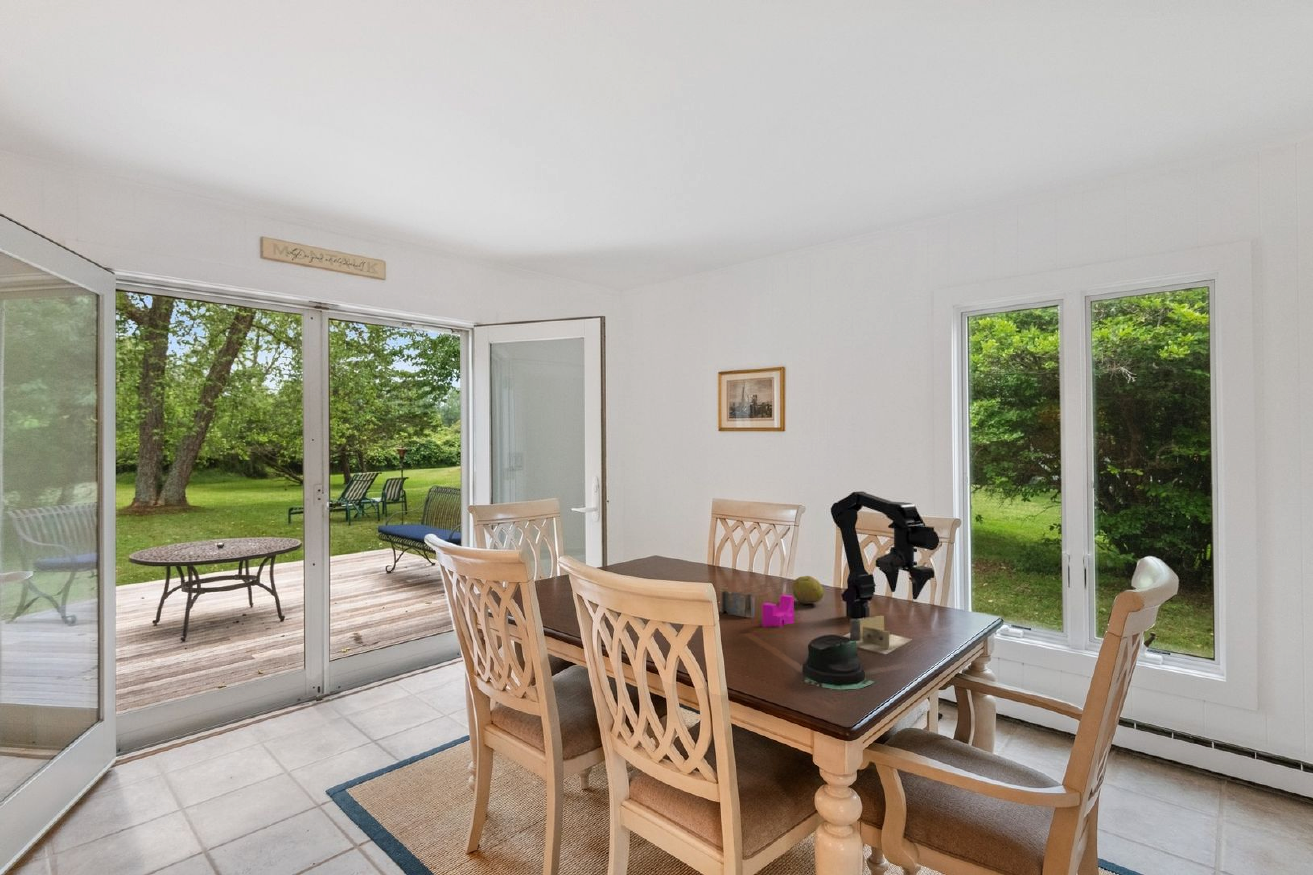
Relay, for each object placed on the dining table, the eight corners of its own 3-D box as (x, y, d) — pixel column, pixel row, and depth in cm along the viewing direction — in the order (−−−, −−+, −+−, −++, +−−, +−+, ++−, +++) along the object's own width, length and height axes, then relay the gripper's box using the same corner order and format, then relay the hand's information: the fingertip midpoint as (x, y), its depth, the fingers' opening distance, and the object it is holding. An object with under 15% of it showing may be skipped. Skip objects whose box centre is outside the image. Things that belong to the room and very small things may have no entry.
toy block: (780, 631, 192) (780, 607, 192) (762, 627, 196) (762, 604, 196) (800, 619, 204) (800, 597, 204) (783, 616, 207) (783, 594, 207)
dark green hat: (810, 655, 170) (810, 622, 170) (883, 670, 159) (883, 634, 159) (782, 679, 154) (782, 642, 154) (862, 697, 143) (861, 658, 143)
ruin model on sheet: (721, 614, 211) (720, 586, 211) (724, 612, 214) (724, 584, 214) (751, 619, 205) (751, 590, 205) (754, 617, 208) (754, 588, 208)
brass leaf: (860, 637, 180) (860, 619, 180) (857, 635, 181) (857, 618, 181) (884, 633, 183) (883, 616, 183) (881, 632, 184) (881, 615, 184)
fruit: (793, 607, 217) (792, 579, 217) (791, 599, 228) (791, 572, 228) (825, 608, 215) (824, 580, 215) (821, 600, 227) (821, 573, 227)
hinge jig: (833, 644, 178) (833, 621, 178) (861, 631, 190) (861, 609, 190) (885, 658, 167) (885, 633, 167) (912, 643, 178) (912, 620, 178)
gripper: (861, 541, 191) (861, 590, 191) (905, 552, 173) (905, 606, 174) (889, 538, 195) (889, 587, 195) (935, 549, 177) (935, 602, 178)
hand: (903, 595), depth 185 cm, fingers open, 9 cm apart
